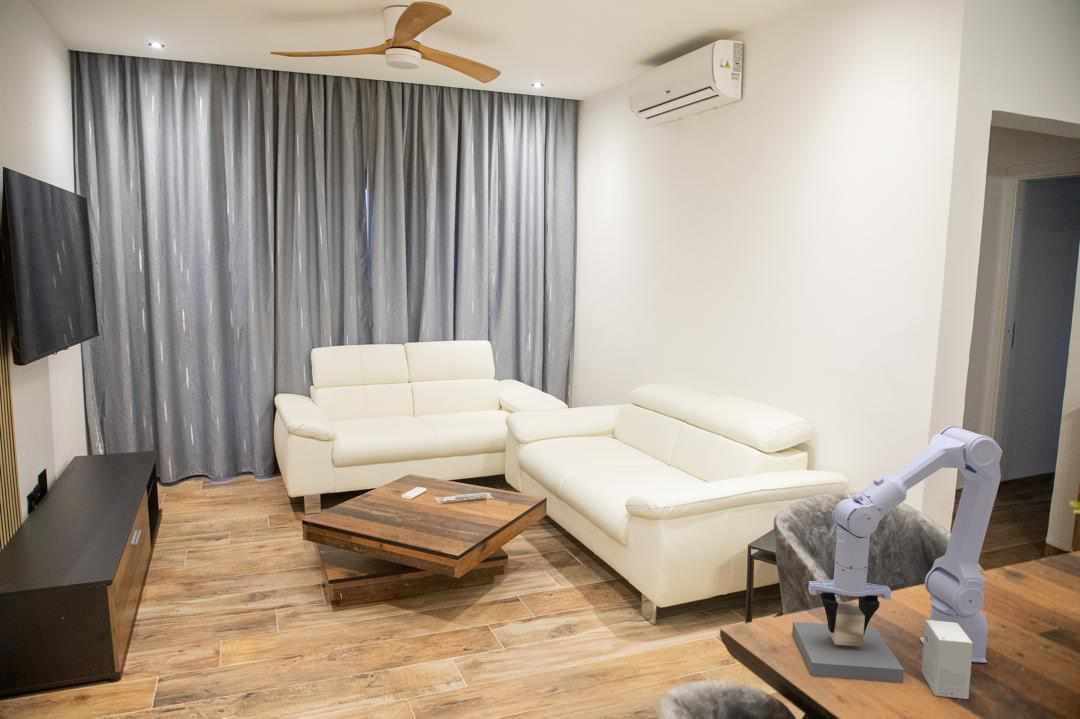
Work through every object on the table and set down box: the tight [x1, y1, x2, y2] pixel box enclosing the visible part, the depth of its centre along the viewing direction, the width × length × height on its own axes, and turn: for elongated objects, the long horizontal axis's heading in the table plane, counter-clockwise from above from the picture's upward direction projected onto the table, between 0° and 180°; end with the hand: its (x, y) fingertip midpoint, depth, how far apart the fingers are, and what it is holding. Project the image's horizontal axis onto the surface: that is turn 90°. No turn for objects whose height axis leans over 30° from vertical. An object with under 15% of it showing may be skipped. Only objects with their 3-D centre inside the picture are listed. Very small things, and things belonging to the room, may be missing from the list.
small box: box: [920, 619, 973, 700], centre depth 134 cm, size 8×6×10 cm
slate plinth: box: [791, 621, 905, 684], centre depth 144 cm, size 16×16×2 cm
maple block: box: [828, 602, 865, 646], centre depth 143 cm, size 5×5×6 cm
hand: (846, 631), depth 143 cm, fingers closed on maple block, 5 cm apart
